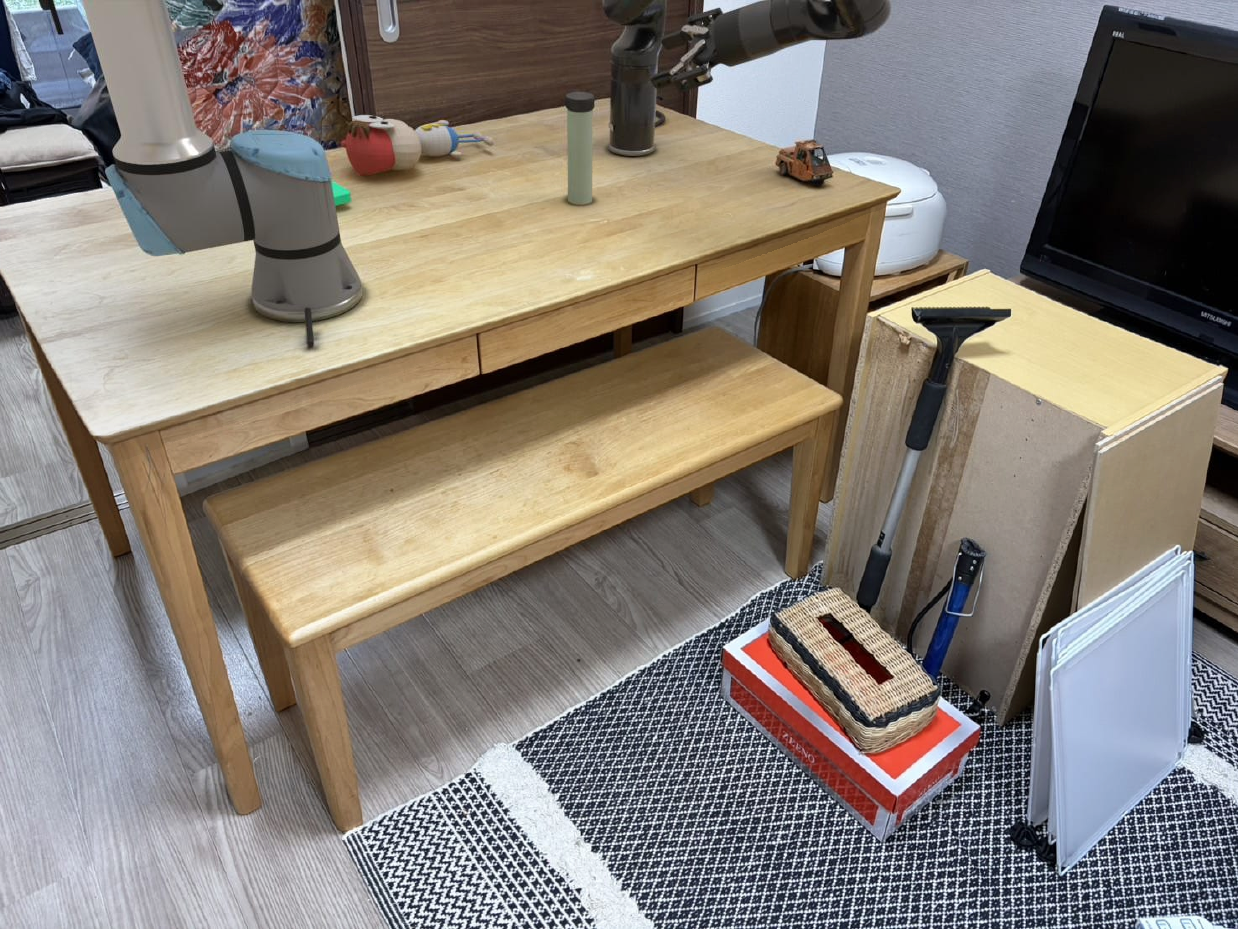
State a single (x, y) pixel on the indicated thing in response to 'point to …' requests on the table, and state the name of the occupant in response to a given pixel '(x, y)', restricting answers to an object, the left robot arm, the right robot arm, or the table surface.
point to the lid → (580, 101)
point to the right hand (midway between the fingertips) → (658, 62)
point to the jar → (580, 156)
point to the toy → (399, 143)
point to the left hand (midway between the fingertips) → (108, 29)
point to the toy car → (804, 162)
